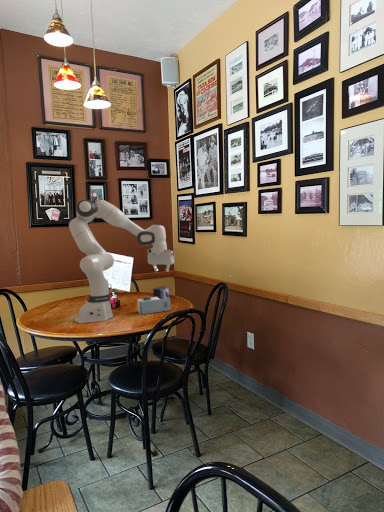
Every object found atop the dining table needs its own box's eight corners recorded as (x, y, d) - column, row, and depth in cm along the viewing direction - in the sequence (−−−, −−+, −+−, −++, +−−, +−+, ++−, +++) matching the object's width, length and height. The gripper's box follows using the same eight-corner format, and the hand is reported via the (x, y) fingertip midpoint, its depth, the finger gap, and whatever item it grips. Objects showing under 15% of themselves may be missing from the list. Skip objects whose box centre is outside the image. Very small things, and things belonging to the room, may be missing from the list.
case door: (141, 314, 218) (140, 302, 217) (140, 314, 219) (139, 301, 219) (171, 310, 225) (170, 298, 225) (170, 309, 227) (169, 297, 226)
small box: (160, 304, 245) (159, 289, 244) (153, 303, 249) (152, 288, 248) (169, 301, 254) (169, 286, 253) (162, 300, 258) (161, 285, 257)
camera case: (141, 314, 220) (140, 299, 219) (137, 311, 227) (136, 296, 226) (161, 311, 225) (160, 296, 224) (157, 308, 232) (156, 294, 231)
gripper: (175, 249, 221) (177, 271, 222) (152, 249, 234) (153, 270, 235) (168, 250, 216) (170, 272, 218) (145, 250, 229) (147, 271, 230)
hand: (161, 271), depth 226 cm, fingers open, 8 cm apart
